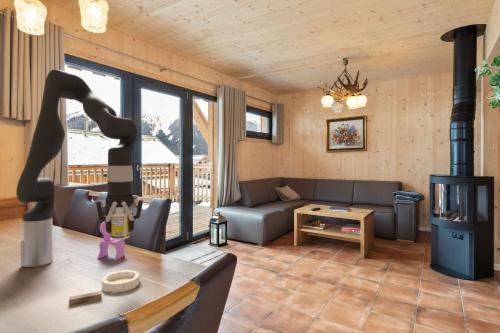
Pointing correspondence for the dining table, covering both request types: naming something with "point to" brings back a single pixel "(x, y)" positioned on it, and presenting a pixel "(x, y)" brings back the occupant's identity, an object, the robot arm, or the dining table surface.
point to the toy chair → (108, 240)
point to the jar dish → (120, 281)
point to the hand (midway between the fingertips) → (120, 232)
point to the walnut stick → (85, 298)
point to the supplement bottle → (120, 224)
